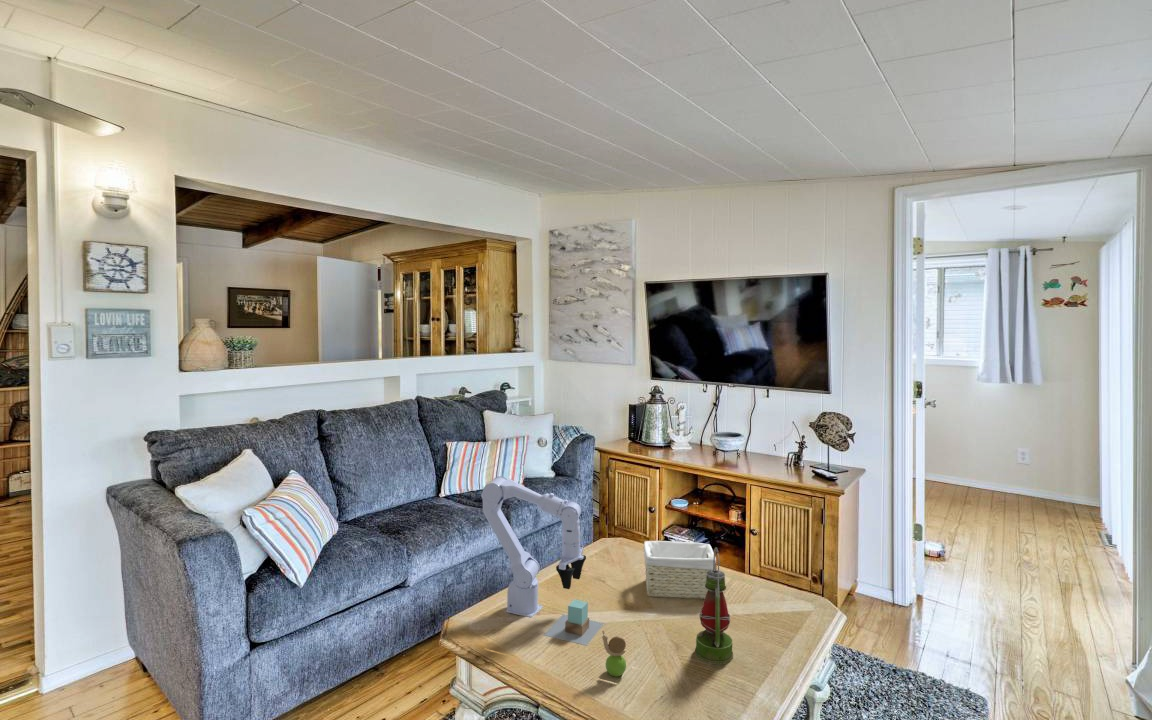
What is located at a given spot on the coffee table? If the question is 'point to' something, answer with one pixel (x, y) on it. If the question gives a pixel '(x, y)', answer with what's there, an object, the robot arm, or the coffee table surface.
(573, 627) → the walnut brick
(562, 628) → the build plate
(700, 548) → the storage basket
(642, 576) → the coffee table surface
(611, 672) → the green toy figure
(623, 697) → the coffee table surface
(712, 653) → the lantern
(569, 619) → the teal brick
